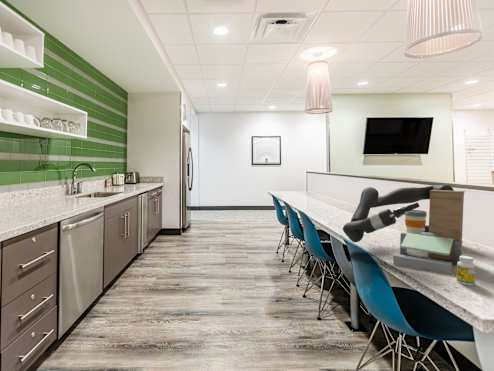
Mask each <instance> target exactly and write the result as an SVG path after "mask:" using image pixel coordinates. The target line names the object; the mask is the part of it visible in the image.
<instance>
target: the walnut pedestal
mask: <svg viewBox="0 0 494 371" xmlns="http://www.w3.org/2000/svg"><path fill="white" fill-rule="evenodd" d="M429 192H430V199H429V207H428V208H429V210H428V211H429V212H428V225H429V233H437V234H439V237H443V238H451V239H453V244H452V247H451V251H450V254H449V256H447V255H442V254H436V253H430V252H427V257H433V258H439V259H444V260H450V261H454V244H455V240H460V241H463V228H464V227H463V222H464V198H465V197H464V196H465V190H454V191H449V190H430V191H429Z"/></svg>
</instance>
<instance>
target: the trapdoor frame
mask: <svg viewBox="0 0 494 371" xmlns="http://www.w3.org/2000/svg"><path fill="white" fill-rule="evenodd" d="M406 235H407V232H401V233H400V236H399V237H400V239H399V245H400V246H399V254H401V255H407V256H413V257H420V258H426V259H432V260H439V261H445V262H451V263H452V266H453V265H454V266H457V262H459V261H460V259H459V257H460V256H463V240H462V241H460V240H455V244H454V261H450V260H444V259H439V258H433V257H428V255H422V254H421V255H419V254H415V253H410V252H408V249H406V248H401V244H402V242H403V240H404V238H405V236H406Z"/></svg>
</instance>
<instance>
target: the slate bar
mask: <svg viewBox="0 0 494 371" xmlns="http://www.w3.org/2000/svg"><path fill="white" fill-rule="evenodd" d="M392 258H393V259H392V260H393V261H392V263H393V265H398V266H402V267H409V268H415V269H420V270H427V271H431V272H437V273H443V274H448V275H452V273H453V272H452V271H453V269H452V268H453V264H452V263H451V262H445V261H439V260H432V259H426V258H420V257H413V256H407V255H401V254H400V253H394V254H393V256H392Z"/></svg>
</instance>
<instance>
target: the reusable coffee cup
mask: <svg viewBox="0 0 494 371" xmlns="http://www.w3.org/2000/svg"><path fill="white" fill-rule="evenodd" d="M427 215H428V214H427V211H426V210H420V209H419V210H417V209H413V210H411V211H409V212H408V213H407V214H405V215H404V217H405V218H404V223H405V228H406V233H413V234H421V232H422V231H424V230H425V229H424V226H425V225H427V224H426V223H427Z"/></svg>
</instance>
